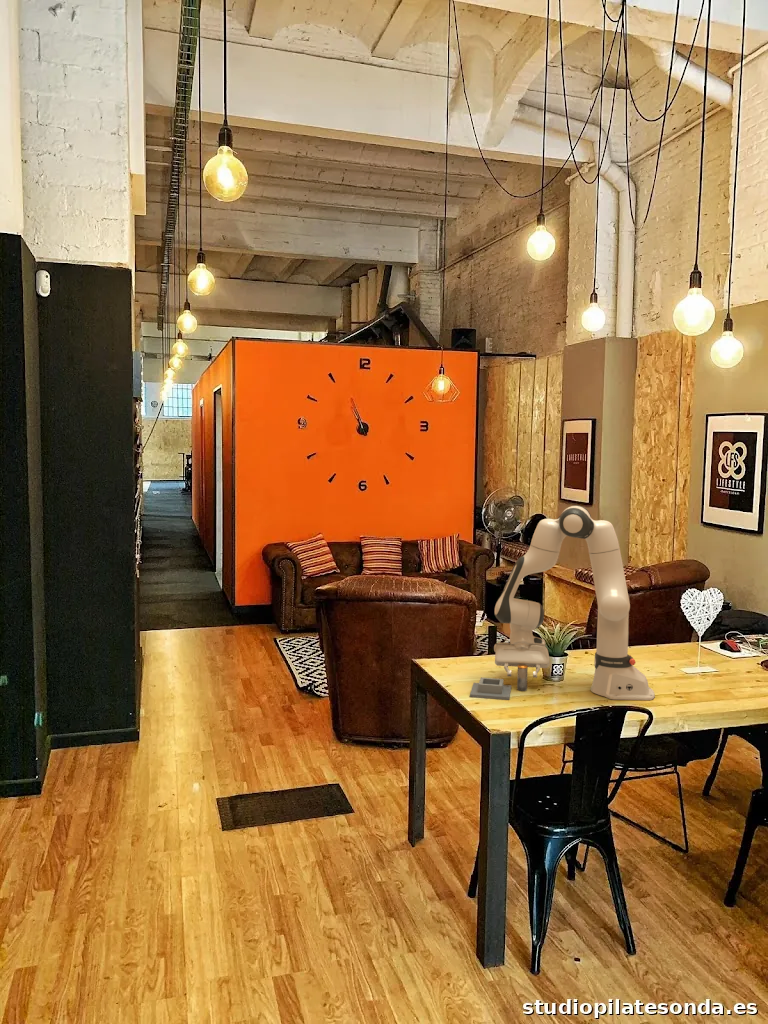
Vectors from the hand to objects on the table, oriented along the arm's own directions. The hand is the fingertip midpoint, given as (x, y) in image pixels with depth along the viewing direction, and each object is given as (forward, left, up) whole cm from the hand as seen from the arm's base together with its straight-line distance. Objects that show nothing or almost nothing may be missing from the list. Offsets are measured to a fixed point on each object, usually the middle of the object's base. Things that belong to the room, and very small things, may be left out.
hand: (522, 676), depth 286 cm
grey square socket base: (+11, +6, -5) cm, 13 cm away
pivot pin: (0, 0, -5) cm, 5 cm away
